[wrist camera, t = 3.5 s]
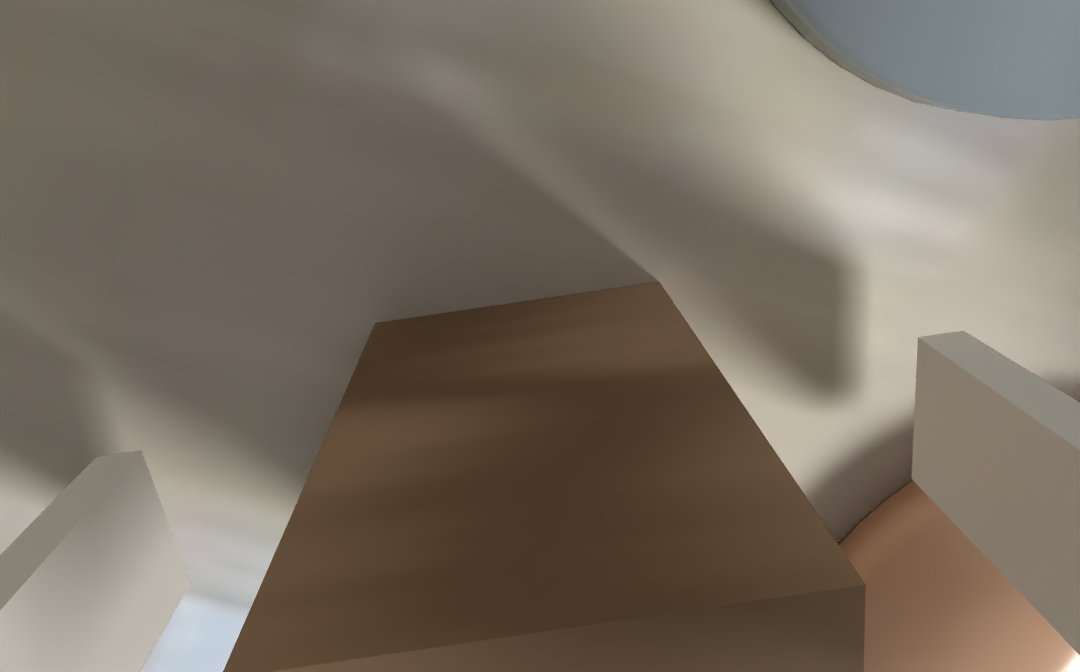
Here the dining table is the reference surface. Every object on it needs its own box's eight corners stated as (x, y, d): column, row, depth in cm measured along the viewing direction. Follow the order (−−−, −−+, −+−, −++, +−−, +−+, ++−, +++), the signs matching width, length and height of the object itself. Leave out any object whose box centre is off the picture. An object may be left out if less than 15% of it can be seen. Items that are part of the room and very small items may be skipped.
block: (429, 557, 15) (362, 1058, 8) (375, 323, 13) (220, 677, 6) (678, 521, 15) (856, 986, 8) (659, 281, 13) (866, 583, 6)
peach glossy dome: (788, 851, 19) (806, 903, 18) (778, 464, 15) (801, 498, 14) (1233, 787, 19) (1280, 834, 18) (1344, 382, 15) (1413, 410, 14)
